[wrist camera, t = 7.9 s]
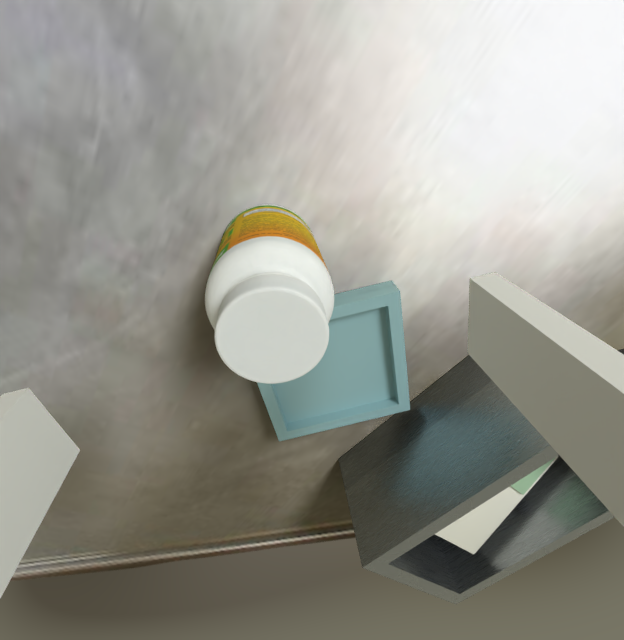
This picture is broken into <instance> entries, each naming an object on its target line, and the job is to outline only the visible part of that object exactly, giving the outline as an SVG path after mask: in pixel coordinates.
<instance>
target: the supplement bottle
mask: <svg viewBox="0 0 624 640" xmlns="http://www.w3.org/2000/svg"><path fill="white" fill-rule="evenodd" d="M205 307H206V312H207V316H208V319H209V321H210V323H211V325H212V327H213V328H214V330H215V334H214V338H215V345H216V349H217V351H218V353H219V356H220V357H221V359H222V361H223V362H224V363H225V364H226V365H227V366H228V367H229V368H230V369H231V370H232V371H233V372H235V373H236V374H238V375H239V376H241V377H243V378H246V379H248V380H251V381H254V382H259V383H266V384H276V383H284V382H288V381H291V380H294V379H296V378H299V377H301V376H303V375H305V374H306V373H308V372H309V371H310V370H312V369H313V368H314V367H315V366H316V365H317V364H318V363H319V362H320V360H321V359H322V357H323V355H324V353H325V351H326V349H327V346H328V342H329V326H328V323H329V321H330V318H331V316H332V312H333V308H334V289H333V284H332V281H331V277H330V274H329V272H328V269H327V267H326V265H325V263H324V260H323V258H322V256H321V253H320V251H319V249H318V246H317V244H316V241H315V239H314V236H313V234H312V232H311V230H310V229H309V227H308V225H307V224H306V223H305V221H304V220H303V219H302V218H301V217H300V216H299V215H297V214H296V213H294V212H293V211H291V210H289V209H287V208H285V207H282V206H278V205H272V204H263V205H257V206H253V207H250V208H248V209H246V210H244V211H242V212H241V213H239V214H238V215H237V216H235V217H234V218H233V220H232V221H231V222H230V223H229V225H228V226H227V228H226V230H225V232H224V234H223V237H222V240H221V243H220V246H219V249H218V252H217V255H216V258H215V261H214V263H213V266H212V269H211V272H210V274H209V278H208V281H207V285H206V290H205Z"/></svg>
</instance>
